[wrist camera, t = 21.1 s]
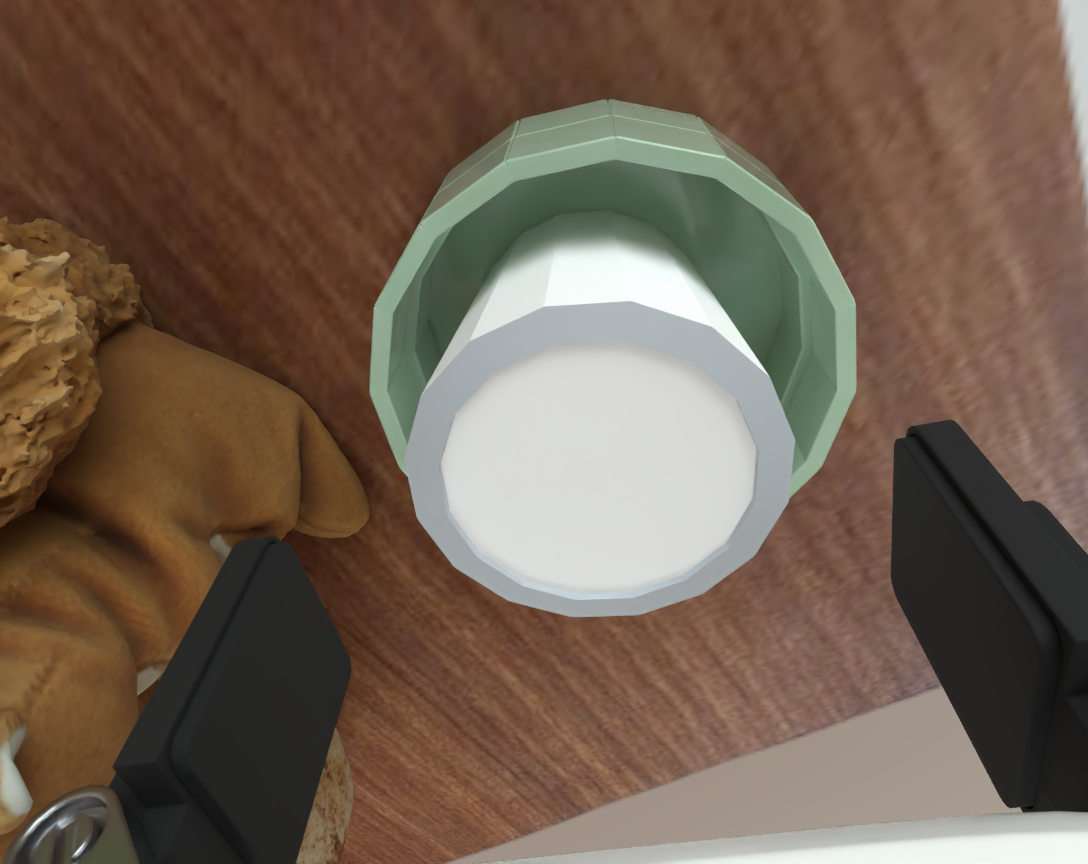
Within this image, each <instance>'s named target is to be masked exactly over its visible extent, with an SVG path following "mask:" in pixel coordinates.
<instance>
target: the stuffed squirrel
mask: <svg viewBox="0 0 1088 864" xmlns="http://www.w3.org/2000/svg"><path fill="white" fill-rule="evenodd" d="M129 269H130V267H129V265H127V264H118V265H115V264H111V257H110V256H109V255H108V254H107V252H106V248H105V247H104V246H98V245H96V244H94V243H93V241H90V240H88V239H84V238H79V237H78V236H76V235H75V234H74V233H73V232H72V231H70V230H68V229H67V228H66V227H65V226H63V225H61V224H59V223H58V222H55V221H51V220H49V219H47V220H46V219H38V218H36V219H35V220H34V221H33V222H31V223H27V222H26V223H23V224H21V225H19V224H17V223H12V222H11V221H10V219H9V218H8V217H7V216H4V217H2V218H0V864H1V863H2V861H3V858H4V856H5V854H6V851H7V849H8V847H9V846H10V844H11V843H12V841H13V840H14V839H15V837H16V836H17V834H18V833H19V831H20V830H21V829H22V828H23V827H24V826H25V825H26V824H27V823H28V822H29V821H30V820H31V818H32V817H33V816H34V815H35V814H37V813H38V812H39V811H40V810H42V809H43V808H44V807H46V806H47V805H48V804H49V803H51V802H52V801H53V800H55V799H57V798H59V797H61V796H62V795H64V794H66V793H68V792H70V791H72V790H75V789H78V788H81V787H84V786H87V785H103V786H106V787H109V785H110V783H111V781H112V780H113V778H114V776H115V774H116V771H115V770H114V769H113V768H112V766H113V764H114V762H115V760H116V759H117V757H118V755H119V753H120V751H121V750H122V748H123V746H124V744H125V742H126V740H127V739H128V737H129V735H130V733H131V731H132V730H133V728H134V726H135V724H136V722H137V720H138V719H139V717H140V715H141V713H142V711H143V710H144V708H145V706H146V704H147V702H148V700H149V699H150V697H151V695H152V693H153V691H154V689H155V688H156V686H157V684H158V682H159V680H158V679H157V678H158V677H159V676H160V675H161V674H162V673H163V672H164V671H165V669H166V668H167V666H168V664H169V662H170V660H171V659H172V657H173V655H174V653H175V651H176V649H177V648H178V646H179V644H180V642H181V640H182V638H183V637H184V635H185V633H186V631H187V629H188V628H189V626H190V624H191V622H192V620H193V618H194V617H195V615H196V613H197V611H198V609H199V608H200V606H201V604H202V602H203V600H204V598H205V597H206V595H207V593H208V591H209V589H210V588H211V586H212V584H213V582H214V580H215V578H216V577H217V575H218V573H219V571H220V569H221V567H222V566H223V564H224V562H225V560H226V558H227V557H228V555H229V553H230V551H231V549H232V547H233V546H234V545H235V544H236V542H239V541H241V540H247V539H253V538H259V537H264V536H270V535H272V536H276V537H277V538H279V539H280V541H281V540H282V539H283V538H284V536H285V535H286V533H287V532H289V531H290V530H291V529H293V530H295V531H298V532H301V533H304V534H307V535H310V536H314V537H322V538H340V537H348V536H350V535H352V534H354V533H356V532H358V531H359V530H360V529H361V527H362V526H364V525H365V524H366V522H367V521H368V519H369V514H370V505H369V500H368V497H367V495H366V493H365V491H364V488H363V485H362V483H361V481H360V479H359V478H358V476H357V474H356V472H355V471H354V469H353V468H352V466H351V464H350V463H349V462H348V460H347V459H346V457H345V456H344V454H343V453H342V452H341V450H340V448H339V447H338V445H337V444H336V442H335V441H334V439H333V438H332V436H331V435H330V433H329V432H328V431H327V429H326V428H325V426H324V425H323V424H322V422H321V421H320V419H319V418H318V416H317V415H316V414H315V412H314V411H313V410H312V408H311V407H310V406H309V405H308V404H307V403H306V402H305V401H304V399H303V398H302V397H300V396H299V395H298V394H296V393H295V392H293V391H292V390H290V389H288V388H287V387H285V386H283V385H282V384H280V383H278V382H276V381H274V380H273V379H271V378H269V377H267V376H265V375H262V374H260V373H258V372H256V371H254V370H251V369H249V368H247V367H245V366H243V365H241V364H238V363H235V362H233V361H231V360H229V359H227V358H224V357H222V356H220V355H217V354H215V353H213V352H211V351H208V350H205V349H202V348H199V347H196V346H193V345H191V344H189V343H186V342H184V341H182V340H180V339H178V338H176V337H174V336H171V335H169V334H167V333H163V332H160V331H158V330H155V329H154V325H153V324H152V323H151V320H152V318H151V315H150V312H148V311H147V308H145V307H144V305H143V303H142V300H141V297H140V296H142V295H144V289H143V288H142V285H141V284H140V285H137V284H135V282H134V278H135V277H134V276H133V275H132V274H131V272H130V273H129Z"/></svg>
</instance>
